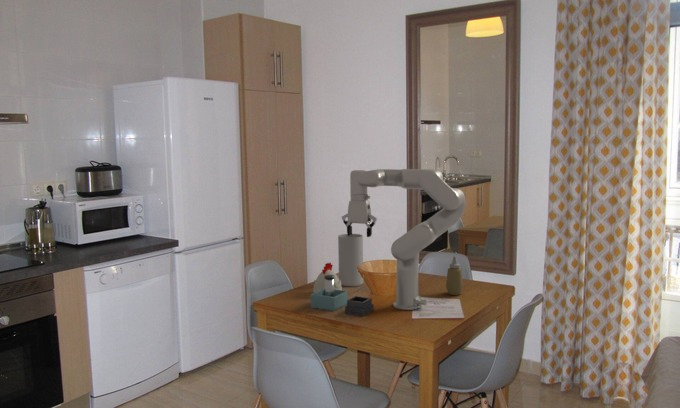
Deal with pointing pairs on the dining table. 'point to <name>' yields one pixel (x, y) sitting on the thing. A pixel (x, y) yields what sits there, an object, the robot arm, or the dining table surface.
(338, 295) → the bin
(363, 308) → the square recessed block
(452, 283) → the squeeze bottle
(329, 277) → the pepper mill
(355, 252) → the cylinder vase
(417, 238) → the robot arm
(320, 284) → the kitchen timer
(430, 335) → the dining table surface
